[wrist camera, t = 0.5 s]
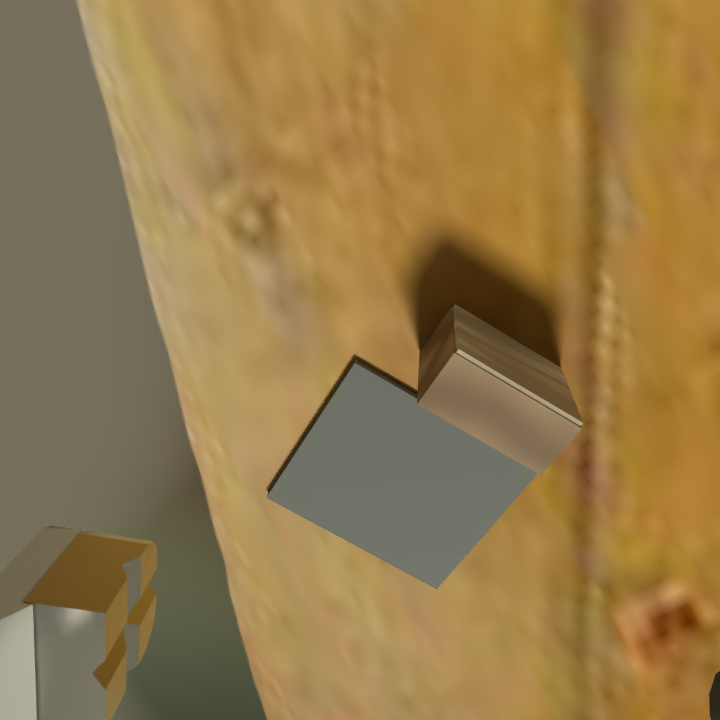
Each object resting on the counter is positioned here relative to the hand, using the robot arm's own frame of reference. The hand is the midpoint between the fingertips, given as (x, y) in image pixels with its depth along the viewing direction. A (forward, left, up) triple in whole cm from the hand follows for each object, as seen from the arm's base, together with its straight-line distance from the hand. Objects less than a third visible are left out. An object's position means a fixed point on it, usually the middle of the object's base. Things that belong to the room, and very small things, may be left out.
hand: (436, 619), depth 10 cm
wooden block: (+8, +10, -37) cm, 39 cm away
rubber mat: (+20, +10, -37) cm, 43 cm away
